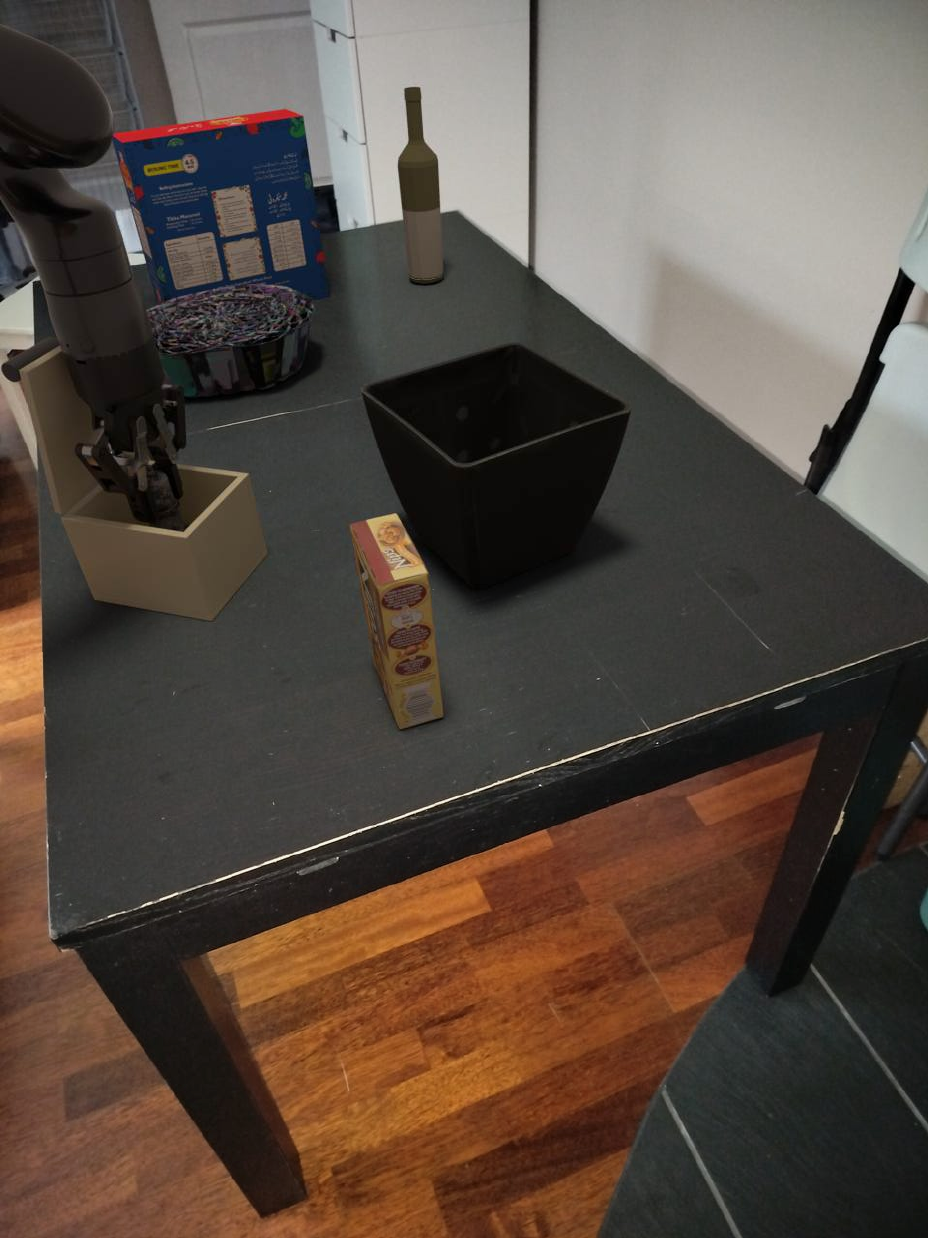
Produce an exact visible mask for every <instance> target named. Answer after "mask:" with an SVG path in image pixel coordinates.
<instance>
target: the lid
mask: <svg viewBox="0 0 928 1238" xmlns="http://www.w3.org/2000/svg"><path fill="white" fill-rule="evenodd" d="M0 370H1V373H2V375H3V376H4V378H5V379H7V380H8V381H9V382H11V383H19V382H20V381H21V383H22V388H23V392H24V397H25V399H26V404H27V407H28V412H29V416H30V419H31V423H32V427H33V431H34V435H35V440H36V443H37V447H38V450H39V456H40V458H41V462H42V467H43V470H44V474H45V479H46V482H47V486H48V490H49V494H50V498H51V502H52V506H53V510H54V513H55V514H58V515H65V514H66V513H67V512H68V510H71V509H72V508H73V507H74V506H75V505H77V504H78V503H79V502H80V501H81V500H83V499H84V498H85V496H87V495H89V494H90V493H91V491H92V490H95V489H96V488H97V487H98V486H99V485H100V484H99V483H98V482H97V481H96V479H95V478H94V477H93V476H92V474H91V473H90V472H89V471H88V469H87V468H86V467H85V466H84V464H83V463H82V462H81V461H80V459H79V458H78V457H77V456H76V454H75V446H76V445H77V444H78V443H84V444H86V443H87V442H88V440H89V439H90V437H91V435H92V434H93V432H94V430H93V428H92V415H91V410H90V408H89V406H88V405H87V404H86V403H85V402H84V401H83V400H82V399H81V398H80V397H79V396H78V394H77V392H76V390H75V387H74V384H73V381H72V378H71V376H70V373H69V370H68V367H67V364H66V362H65V359H64V356H63V353H62V350H61V347H60V344H59V342H58V339H57V337H54V336H47V337H45V338H44V339H42V340H41V341H39V342H38V343H36V344H33V345H32V346H30V347H29V348H27V349H25V350H23V351H22V352H20V353H19V354H16V355H15V356H14V357H11V358H10V359H8V360H6V361H5V362H3V363H2V364H1V366H0ZM122 452H123V453H125V454H131V455H135V454H134V452H124V451H122Z"/></svg>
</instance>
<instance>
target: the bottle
mask: <svg viewBox="0 0 928 1238" xmlns="http://www.w3.org/2000/svg"><path fill="white" fill-rule="evenodd" d="M403 92H404V93H403V95H404V96H403V97H404V101H405V113H406V114H405V115H406V123H407V124H406V126H407V136H408V137H407V139H408V140H407V144H406V145H405V147H403V150H402V151H401V153H400V154H399V156H398V159H397V173H398V174H397V175H398V183H399V194H400V203H401V211H402V221H403V233H404V242H405V243H404V244H405V249H406V250H405V251H406V261H407V269H408V270H407V271H408V277H409V276H410V277H412V278H415V279H421V280H415V279H412V278H410V277H409V281H411V282H413V283H416V284H421V285H428V284H433V283H434V284H435V283H437V282H439V281H440V280H442V279H443V278H444V259H443V258H444V257H443V256H444V255H443V237H442V215H441V214H442V213H441V194H440V193H441V192H440V171H439V158H438V155H437V154H436V153H435V152H434V150H432V148H431V147H430V146H429V144H428V143H426V140H425V138H424V124H423V123H424V122H423V109H422V98H423V97H422V90H421V87H420V86H409V87H405V88H404V89H403ZM442 274H443V275H442ZM441 275H442V276H441ZM439 276H441V277H439ZM437 277H439V278H437ZM432 278H436V279H432ZM422 279H432V280H422Z"/></svg>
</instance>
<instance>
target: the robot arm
mask: <svg viewBox="0 0 928 1238" xmlns="http://www.w3.org/2000/svg"><path fill="white" fill-rule="evenodd" d="M113 134H115V121H114V114H113V110H112V107H111V104H110V101H109V99H108V97H107V95H106V93H105V91H104V90H103V88H102V87H101V84H100V83H99V82H98V80H97V79H96V78H95V77H94V76H93V74H92V73H91V72H90V71H89V70H88V69H87V68H86V67H85V66H83V64H81V63H80V62H79V61H78V60H77V59H75V58H74V57H72V56H71V55H69V54H68V53H66V52H65V51H62V50H60V49H58V48H57V47H55V46H53V45H51V44H49V43H47V42H45V41H43V40H40V39H38V38H35V37H33V36H30V35H28V34H26V33H23V32H21V31H19V30H16V29H14V28H11V27H9V26H7V25H4V24H2V23H0V201H1V203H2V204H3V206H4V208H5V209H6V210H7V212H8V213H9V215H10V216H11V218H12V220H13V221H14V222H15V224H16V225H17V226H18V228H19V229H20V231H21V232H22V234H23V236H24V239H25V240H26V243H27V247H28V250H29V253H30V255H31V258H32V260H33V263H34V266H35V269H36V272H37V275H38V278H39V280H40V281H39V282H40V283H41V286H42V290H43V293H44V296H45V299H46V304H47V310H48V315H49V318H50V322H51V325H52V327H53V330H54V333H55V336H56V339H57V340H58V342H59V344H60V347H61V350H62V353H63V356H64V359H65V362H66V364H67V367H68V370H69V373H70V376H71V378H72V381H73V384H74V387H75V390H76V392H77V394H78V396H79V397H80V398H81V399H82V400H83V401H84V402H85V403H86V404H87V405H88V406H89V408H90V410H91V415H92V428H93V430H94V432H93V434H92V435H91V437H90V439H89V440H88V442H87V443H86V444H84V443H78V444H77V445H76V446H75V454H76V456H77V457H78V458H79V459H80V461H81V462H82V463H83V464H84V466H85V467H86V468H87V469H88V471H89V472H90V473H91V474H92V476H93V477H94V478H95V479H96V481H97V482H98V483H99V484H98V485H99V486H101V487H102V488H103V489H104V491H105V492H110V493H120V494H124V495H126V497H127V500H128V503H129V506H130V509H131V510H132V511H131V512H132V514H133V516H134V518H135V519H137V520H138V521H140V522H146V523H155V522H156V521H157V520H158V519H159V518H160V517H159V513H158V510H157V507H156V504H155V501H154V498H153V495H152V491H151V488H150V487H148V482H147V475H146V468H145V466H146V464H148V463H149V460H150V461H155V463H153V464H152V465H151V466H152V469H153V470H158V471H162V472H163V473H165V474H166V476H167V477H168V480H169V483H170V486H171V490H172V493H173V496H174V498H176V499H178V500H179V499H180V498H181V497H182V496H183V495H184V494H183V490H182V481H181V479H180V475H179V471H178V468H177V464H178V463H177V462H178V461H179V454H178V452H179V451H180V449H181V450H184V449H185V448H186V447H187V423H186V422H187V421H186V403H185V397H184V389H183V387H182V386H178V385H168V384H163V383H164V379H165V375H164V371H163V368H162V364H161V361H160V357H159V353H158V350H157V346H156V343H155V339H154V336H153V332H152V328H151V325H150V321H149V318H148V314H147V311H146V310H147V308H146V304H145V300H144V299H143V296H142V293H141V291H140V289H139V287H138V284H137V282H136V280H135V277H134V273H133V270H132V266H131V262H130V259H129V255H128V252H127V248H126V245H125V241H124V238H123V235H122V232H121V229H120V228H121V227H120V225H119V222H118V219H117V217H116V214H115V212H114V211H113V209H111V207H110V206H109V205H108V204H107V203H106V202H104V201H102V200H99V199H98V198H94V197H91V196H89V195H86V194H84V193H82V192H80V191H78V190H77V189H75V188H74V187H72V185H71V184H70V182H69V181H68V179H67V178H66V177H65V175H64V173H63V171H62V170H78V169H85V168H89V167H91V166H93V165H95V164H96V163H98V162H100V161H101V160H102V159H103V158H104V156H106V154H107V153H108V151H109V149H110V148H111V145H112V144H113V141H112V140H113ZM170 423H172V424H173V428H174V429H173V431H174V434H173V433H172V431H171V429H170V427H169V424H170ZM122 451H124V452H134V455H131V454H125V453H123V452H122ZM127 466H130V467H131V468H132V469H133V475H134V476H129V473H128V467H127Z"/></svg>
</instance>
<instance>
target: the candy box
mask: <svg viewBox="0 0 928 1238" xmlns="http://www.w3.org/2000/svg"><path fill="white" fill-rule="evenodd" d="M349 529H350V534H351V535H350V536H351V541H352V542H351V543H352V547H353V552H354V559H355V563H356V565H355V566H356V569H357V574H358V582H359V586H360V592H361V598H362V604H363V609H364V616H365V621H366V626H367V631H368V636H369V642H370V647H371V654H372V659H373V665H374V667H375V670H376V673H377V675H378V678H379V681H380V684H381V686H382V689H383V693H384V694H385V697H386V699H387V702H388V705H389V707H390V711H391V712H392V715H393V718H394V720H395V722H396V725H397V727H398V729H399V730H404V729H407V728H411V727H414V726H417V725H421V724H424V723H427V722H431V721H434V720H438V719H441V718H444V707H443V706H444V705H443V699H442V697H443V696H442V689H441V679H440V670H439V669H440V668H439V661H438V651H437V650H438V649H437V641H436V631H435V630H436V629H435V622H434V613H433V604H432V595H431V594H432V593H431V585H430V584H431V583H430V574H429V571H428V569H427V566H426V565H425V562H424V561H423V559H422V557H421V555H420V553H419V551H418V550H417V548H416V546H415V544H414V541H413V540H412V538H411V537H410V535H409V533H408V532H407V529H406V527H405V525H404V524H403V523H402V520H401V518H400V517H399V515H398V513H395V512H394V513H391V514H387V515H382V516H378V517H373V518H368V519H365V520H360V521H356V522H353V523H350V524H349Z"/></svg>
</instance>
